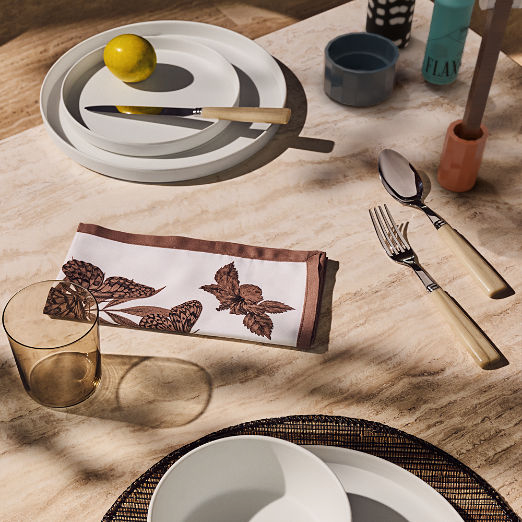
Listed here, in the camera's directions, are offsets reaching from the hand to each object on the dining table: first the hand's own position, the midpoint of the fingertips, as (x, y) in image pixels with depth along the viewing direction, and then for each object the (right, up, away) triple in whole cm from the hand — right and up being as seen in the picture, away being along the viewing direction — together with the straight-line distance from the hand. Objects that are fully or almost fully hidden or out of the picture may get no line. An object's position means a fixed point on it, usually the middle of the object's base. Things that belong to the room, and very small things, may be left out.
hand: (500, 6), depth 81 cm
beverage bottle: (+2, +1, +37) cm, 37 cm away
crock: (+1, -18, +21) cm, 28 cm away
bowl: (-12, 0, +37) cm, 38 cm away
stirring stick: (+1, -13, +15) cm, 20 cm away
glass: (-5, +11, +47) cm, 48 cm away
